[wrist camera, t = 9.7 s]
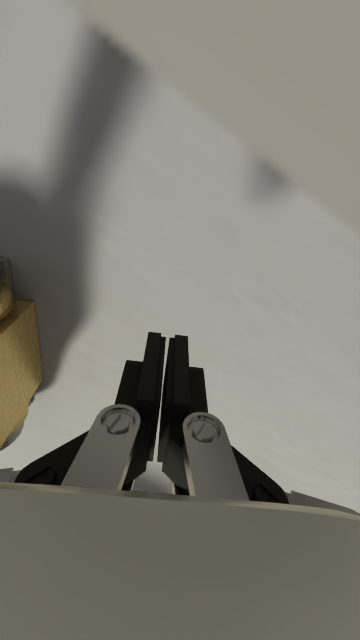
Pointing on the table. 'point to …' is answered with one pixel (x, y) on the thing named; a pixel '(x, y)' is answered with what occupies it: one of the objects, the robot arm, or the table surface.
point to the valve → (16, 358)
